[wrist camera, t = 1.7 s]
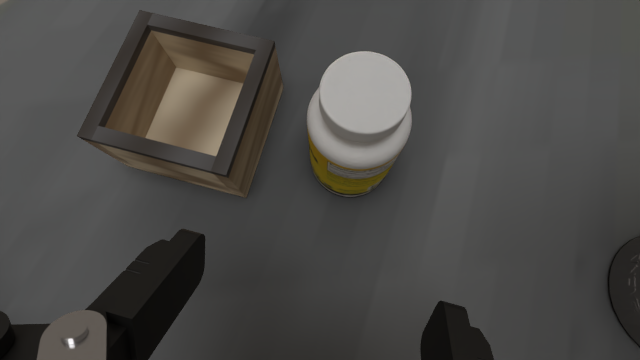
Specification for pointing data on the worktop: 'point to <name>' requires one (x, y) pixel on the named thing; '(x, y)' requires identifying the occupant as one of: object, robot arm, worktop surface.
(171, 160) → the wooden box
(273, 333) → the worktop surface
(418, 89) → the worktop surface
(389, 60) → the pill bottle
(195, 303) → the worktop surface
